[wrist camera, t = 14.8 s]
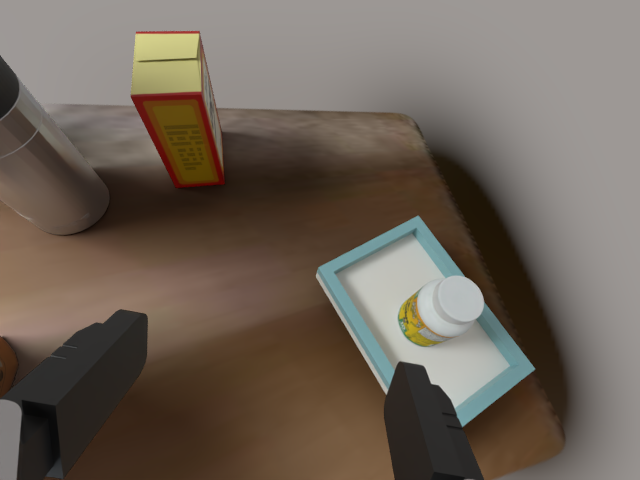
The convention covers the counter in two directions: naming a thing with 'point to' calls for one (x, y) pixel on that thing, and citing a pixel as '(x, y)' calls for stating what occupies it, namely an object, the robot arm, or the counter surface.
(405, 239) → the shallow teal tray
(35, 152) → the robot arm
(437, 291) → the supplement bottle
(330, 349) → the counter surface
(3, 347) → the pancake mix bag
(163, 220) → the counter surface
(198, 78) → the baking soda box
